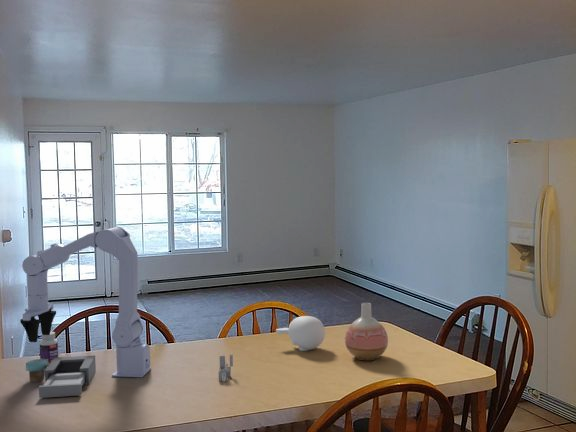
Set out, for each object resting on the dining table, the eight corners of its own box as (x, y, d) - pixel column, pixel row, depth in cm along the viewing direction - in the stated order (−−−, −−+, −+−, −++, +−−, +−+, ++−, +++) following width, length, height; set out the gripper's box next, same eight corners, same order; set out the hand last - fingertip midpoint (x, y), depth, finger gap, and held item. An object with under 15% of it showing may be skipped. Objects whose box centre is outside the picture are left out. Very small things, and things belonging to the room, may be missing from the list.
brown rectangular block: (44, 377, 181) (43, 366, 180) (41, 381, 178) (40, 369, 177) (32, 378, 180) (32, 366, 180) (29, 382, 177) (29, 370, 177)
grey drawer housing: (95, 370, 186) (95, 355, 186) (89, 384, 174) (88, 368, 174) (55, 373, 184) (54, 357, 184) (45, 387, 173) (45, 370, 172)
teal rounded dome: (50, 365, 181) (50, 359, 181) (40, 371, 176) (40, 365, 175) (32, 364, 182) (32, 358, 182) (22, 371, 176) (21, 365, 176)
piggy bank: (329, 355, 204) (296, 349, 215) (333, 319, 206) (301, 315, 217) (304, 352, 196) (271, 346, 206) (309, 315, 198) (277, 311, 209)
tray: (88, 380, 177) (88, 369, 177) (81, 395, 165) (80, 384, 165) (49, 382, 175) (49, 372, 175) (39, 397, 164) (38, 386, 163)
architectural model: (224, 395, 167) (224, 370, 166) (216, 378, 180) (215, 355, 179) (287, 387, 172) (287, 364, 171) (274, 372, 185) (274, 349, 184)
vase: (339, 361, 192) (339, 306, 191) (351, 349, 205) (351, 297, 203) (382, 366, 187) (382, 309, 185) (392, 353, 200) (392, 300, 198)
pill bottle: (52, 366, 191) (50, 335, 190) (36, 365, 192) (35, 335, 191) (62, 361, 196) (60, 331, 196) (46, 360, 197) (45, 330, 197)
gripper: (37, 289, 193) (39, 331, 194) (11, 299, 178) (14, 344, 180) (58, 289, 192) (60, 331, 193) (34, 299, 178) (36, 345, 179)
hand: (39, 338), depth 186 cm, fingers open, 7 cm apart
